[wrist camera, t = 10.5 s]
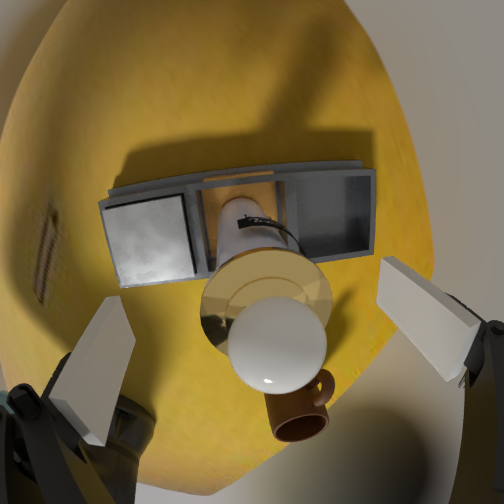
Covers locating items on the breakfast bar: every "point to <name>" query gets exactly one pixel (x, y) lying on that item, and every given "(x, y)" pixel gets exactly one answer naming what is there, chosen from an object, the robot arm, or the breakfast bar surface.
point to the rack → (217, 196)
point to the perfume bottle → (265, 302)
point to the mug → (301, 409)
